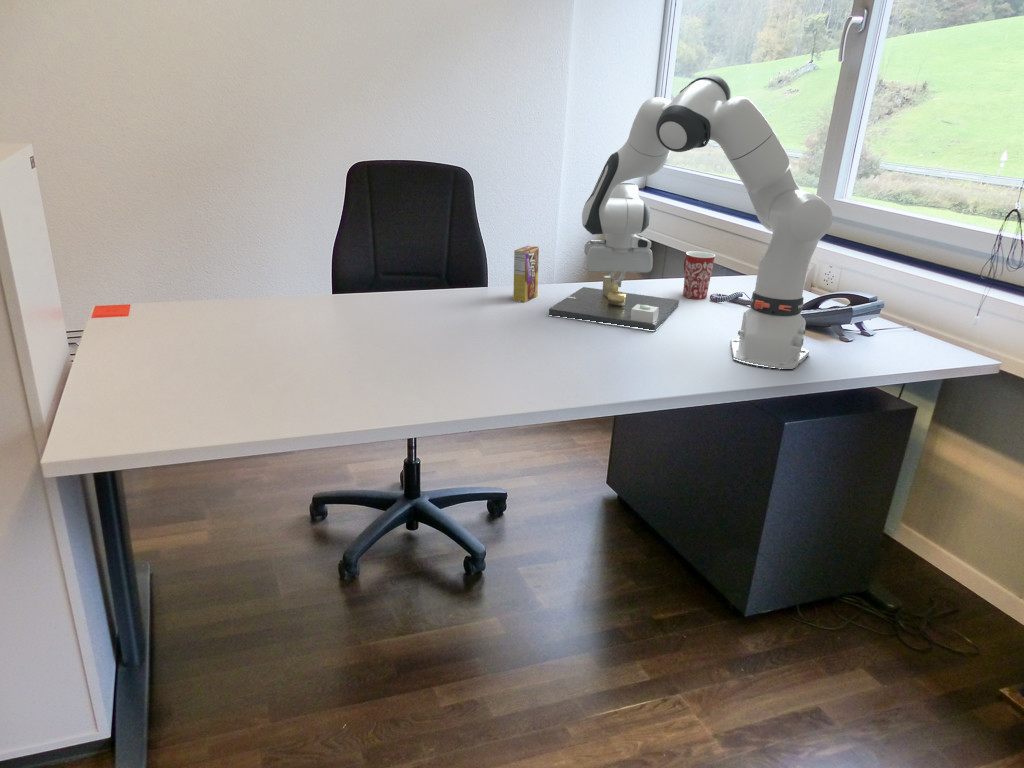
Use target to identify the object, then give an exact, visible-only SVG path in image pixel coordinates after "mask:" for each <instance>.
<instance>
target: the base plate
mask: <svg viewBox="0 0 1024 768" xmlns="http://www.w3.org/2000/svg"><path fill="white" fill-rule="evenodd" d="M602 290H603V288H602V289H600V288H594V287H588V286H583V287H581V288H579V289H577V291H575V292H573V293H572V294H570V295H569V296H567V297H566V298H564V299H562V300H561V301H559V302H558V303H556V304H554V305H552V306H551V307H550V308H548V316H549V315H552V316H551V317H554V316H560V317H567V318H575V319H582V320H590V321H596V322H603V323H611V324H617V325H624V326H630V327H638V328H643V329H649V330H656V329H657V328H658V327H659V326H660V325H661V324H662V325H663V324H664V323H665V321H666V320H667V319H668V318H669V317H670V316H671V315H672V314H673V312H675V311H676V310H677V309H678V307H679V305H680V304H679V303H680V299H674V298H666V297H659V296H651V295H647V294H646V295H644V294H638V293H632V292H631V293H630V292H625V293H626V300H625V305H623V306H614V305H610V304H608V298H607V297H606V296H605V295H604V294H602ZM560 317H559V318H560ZM567 318H566V319H567ZM662 325H661V326H662ZM661 326H660V327H661ZM660 327H659V328H660ZM659 328H658V329H659ZM658 329H657V330H658ZM657 330H656V331H657Z"/></svg>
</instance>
